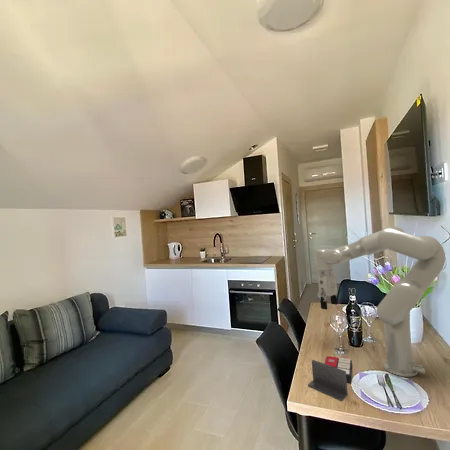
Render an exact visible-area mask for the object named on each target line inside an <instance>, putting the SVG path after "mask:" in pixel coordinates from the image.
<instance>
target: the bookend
mask: <svg viewBox="0 0 450 450" xmlns="http://www.w3.org/2000/svg"><path fill="white" fill-rule="evenodd" d="M324 363H325V362H320V361H318V360H316V359H312V360H311V369H312V370H311V372H312V381H311V382H309V383H308V385H307V386H308V387H309V388H311V389H313V390H316V391H318V392H319V393H322V394H324V395H327V396H329V397H331V398H333V399H336V400H338V401H339V402H342V401H344V400H345V398H346V397H347V396H349V391H348V383H347V379H346V371H343V370H341V369H338V368H335V367H332V366H329V365H327V364H324Z"/></svg>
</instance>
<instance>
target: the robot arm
mask: <svg viewBox="0 0 450 450" xmlns="http://www.w3.org/2000/svg"><path fill="white" fill-rule="evenodd" d="M386 250H389V251H392V252H395V253H398V254H401V255H403V256H405V257H409V258H412V259H415V260H417V261H416V262H415V263H414V264H413V266H412V267H411V269H409V271H408V272H407V273H406V274H405V276H403V278H402V279H400V280H398V281H397V282H396V283H395V284H394V285H393V286H392V287H391V289H390V290H388V293H386V295H385V296H384V297H383V298H382V300H381V301H380V302H379V303H378V305H377V308H376V315H377V318H378V319H379V320H380V321H381V322H382V323H383V325H384V328H383V329H384V339H385V350H386V360H385V361H384V362H383V368H384V370H386V372H388V373H390V374H392V373H393V374H392V375H395V374H396V375H395V376H398V375H399V376H398V377H406V378H409V377H410V378H411V377H415V376H417V375H418V374H419V373H421V374H423V375H425V374H426V368H424V365H420V364H417V363H416V359H414V357H413V348H412V333H411V311H412V310H413V309H414V307H415V306H416V305H417V304H418V303H419V302H420V300H421V299H422V297H423V296H424V294H425V292H426V291H427V290H428V289H429V288H430V286H431V285H432V284H433V282H434V281H435V280H436V279H437V277H438V276H439V275H440V273H442V270H443V269H444V266H445V263H446V252H445V249H444V247H443V245H442V244H441V242H440V241H438V240H437V239H436V238H435V237H433V236H430V235H422V236H421V235H420V236H417V235H413V234H410V233H406V232H405V231H404V229H402V228H401V227H399V226H388V227H385V228H383V229H381V230H379V231H376V232H374V233H370V234H369V235H365V236H363V237H360V239H359V240H357V241H354V242H351V243H349V244H346V245H344V246H343V245H342V246H340V247H336V248H332V249H330V248H318V249H316V251H315V257H316V265H317V267H316V268H317V275H318V292H317V297H318V300H319V301H320V309H322V310H328V302H327V298H330V303H331V305H338V298H337V297H338V286H337V280H336V276H335V273H334V272H335V271H334V265H340V264H343V263H345V262H349V261H350V260H351V261H352V260H354V259H357V258H360V257H363V256H370V255H375V254H377V253H381V252H383V251H386ZM333 264H334V265H333Z"/></svg>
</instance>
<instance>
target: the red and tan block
mask: <svg viewBox="0 0 450 450" xmlns="http://www.w3.org/2000/svg"><path fill="white" fill-rule="evenodd" d="M323 363H324V364H327V365H329V366H332V367H335V368H338V369H341V370H343V371H346V379H347V384H352V376H353V375H352V373H353V360H352V359H351V358H346V357H344V358H343V357H337V356H331V355H330V356H328V355H327V356H325V361H324V362H323Z"/></svg>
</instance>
